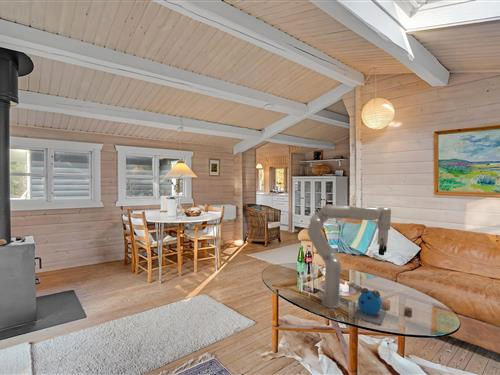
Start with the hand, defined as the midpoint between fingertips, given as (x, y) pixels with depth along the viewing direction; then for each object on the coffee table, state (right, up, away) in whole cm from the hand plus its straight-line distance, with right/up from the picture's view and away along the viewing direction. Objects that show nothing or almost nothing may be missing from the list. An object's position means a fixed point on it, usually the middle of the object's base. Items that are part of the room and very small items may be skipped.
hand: (382, 253), depth 191 cm
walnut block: (+13, -37, -6) cm, 40 cm away
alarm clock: (-11, -36, -6) cm, 38 cm away
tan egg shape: (+3, -36, +3) cm, 37 cm away
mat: (-11, -37, -7) cm, 39 cm away
